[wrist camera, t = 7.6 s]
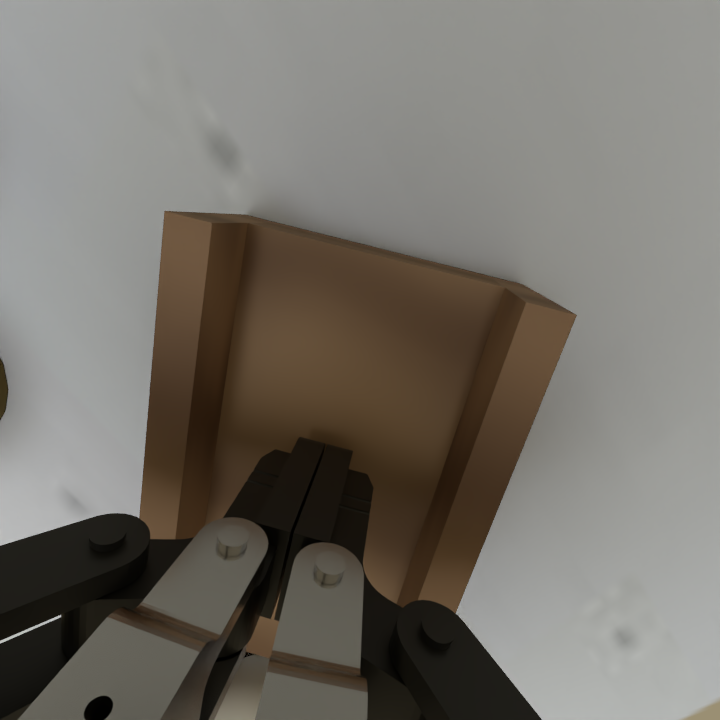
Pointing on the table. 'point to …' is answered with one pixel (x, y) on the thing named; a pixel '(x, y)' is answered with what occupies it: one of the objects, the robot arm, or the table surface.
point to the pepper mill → (2, 390)
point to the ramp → (342, 388)
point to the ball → (244, 690)
